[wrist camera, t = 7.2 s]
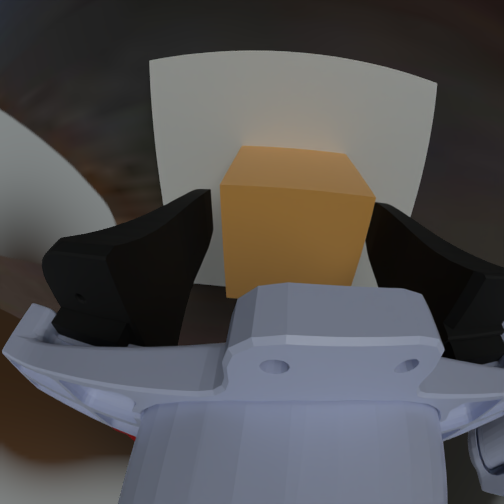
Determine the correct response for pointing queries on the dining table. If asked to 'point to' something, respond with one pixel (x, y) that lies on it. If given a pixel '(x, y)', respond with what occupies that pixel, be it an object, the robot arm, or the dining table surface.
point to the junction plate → (287, 125)
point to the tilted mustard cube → (292, 218)
